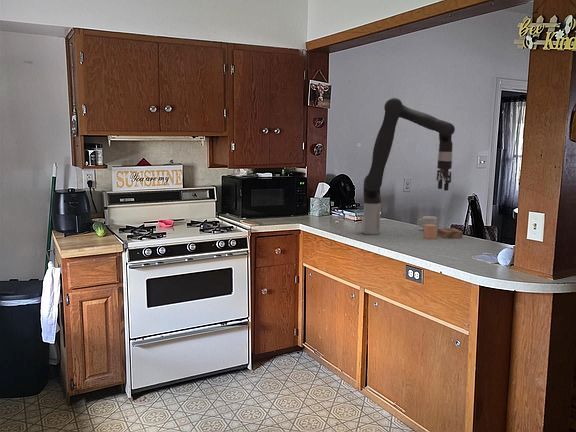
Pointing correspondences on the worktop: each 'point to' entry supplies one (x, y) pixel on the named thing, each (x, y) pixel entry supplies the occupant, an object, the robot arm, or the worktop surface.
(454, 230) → the walnut block
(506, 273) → the worktop surface
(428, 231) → the terracotta block
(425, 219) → the cup
